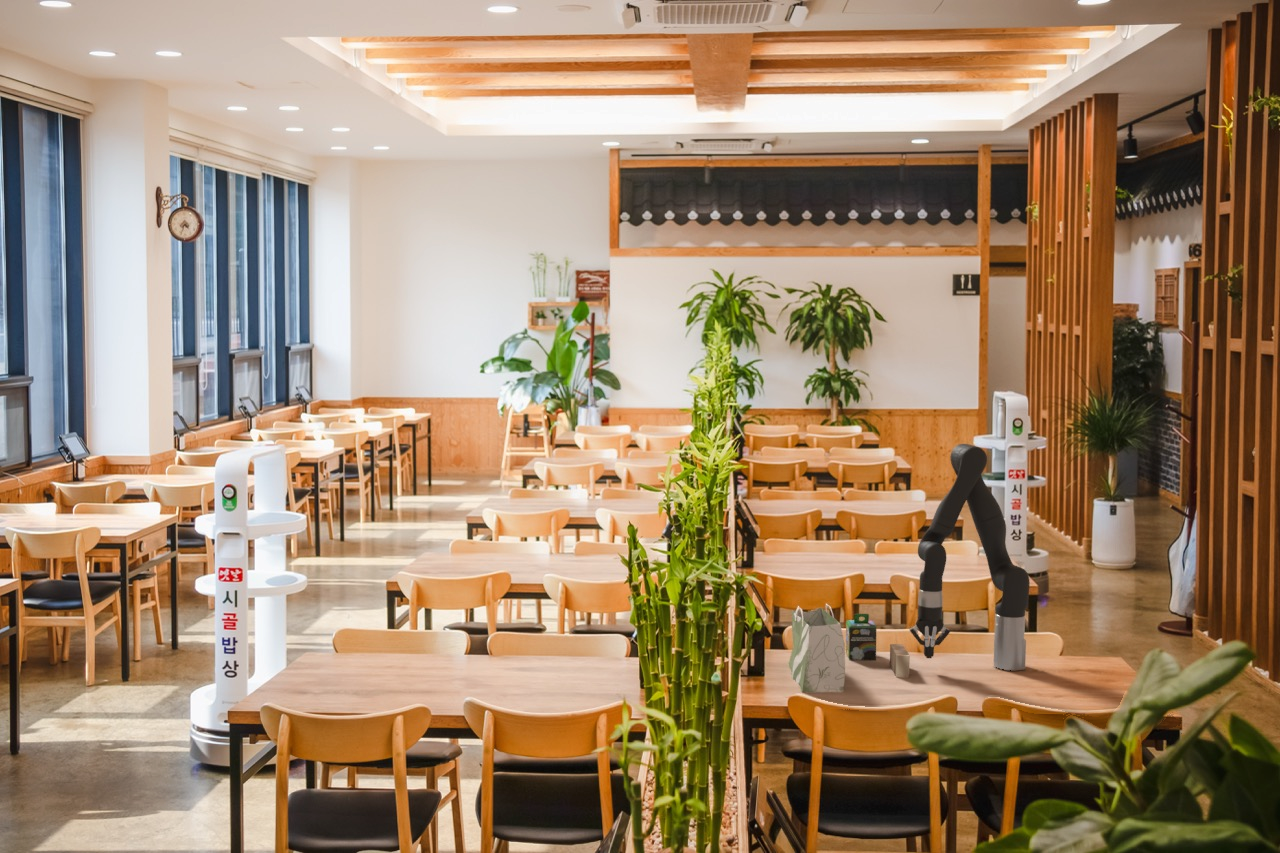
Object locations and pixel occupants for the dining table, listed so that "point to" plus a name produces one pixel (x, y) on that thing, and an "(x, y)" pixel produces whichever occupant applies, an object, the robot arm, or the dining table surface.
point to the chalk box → (861, 638)
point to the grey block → (899, 660)
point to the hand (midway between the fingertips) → (928, 657)
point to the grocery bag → (817, 651)
